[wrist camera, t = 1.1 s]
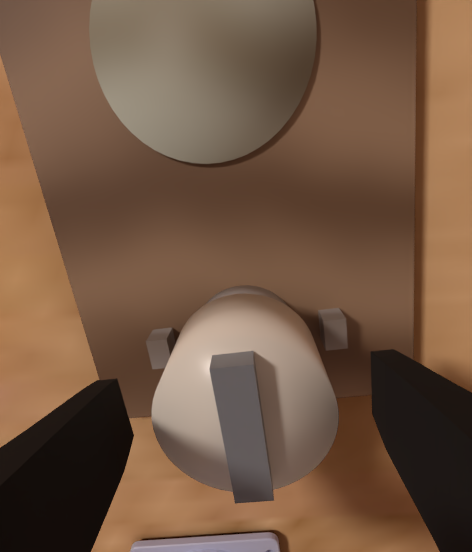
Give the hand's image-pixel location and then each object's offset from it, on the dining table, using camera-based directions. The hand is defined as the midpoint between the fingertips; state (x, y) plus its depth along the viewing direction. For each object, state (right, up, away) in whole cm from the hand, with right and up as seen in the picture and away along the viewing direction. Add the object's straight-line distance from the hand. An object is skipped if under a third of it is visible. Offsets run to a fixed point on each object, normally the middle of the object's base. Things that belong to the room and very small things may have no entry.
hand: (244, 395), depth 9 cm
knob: (0, +1, +2) cm, 2 cm away
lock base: (-1, +6, +3) cm, 7 cm away
